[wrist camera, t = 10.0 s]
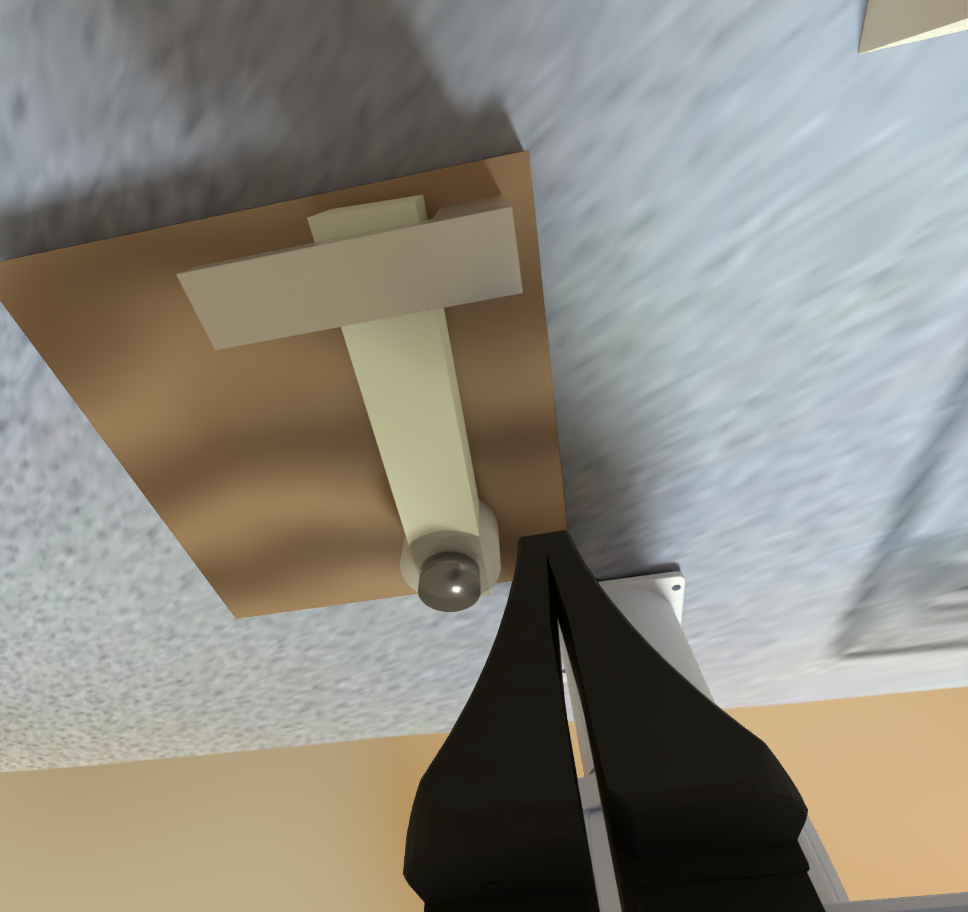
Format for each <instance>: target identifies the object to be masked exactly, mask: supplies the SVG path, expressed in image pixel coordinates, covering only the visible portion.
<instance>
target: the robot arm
mask: <svg viewBox="0 0 968 912" xmlns="http://www.w3.org/2000/svg"><path fill="white" fill-rule="evenodd" d="M684 588H685V577H684V575H683V574H682V573H681V572H678V571H674V572H667V573H659V574H652V575H644V576H637V577H630V578H622V579H615V580H607V581H600V582H598V581H597V580H596V578H595V577H594V576H593V574H592V573H591V571H590V570H589V568H588V567H587V565H586V563H585V562H584V560H583V559H582V557H581V555H580V554H579V552H578V550H577V548H576V546H575V544H574V542H573V540H572V538H571V536H570V533H569V532H567V531H566V530H561V531H555V532H549V533H543V534H536V535H530V536H524V537H521V538H520V539H519V540H518V550H517V559H516V566H515V571H514V577H513V581H512V585H511V589H510V593H509V597H508V601H507V605H506V608H505V611H504V614H503V618H502V621H501V624H500V627H499V630H498V633H497V636H496V638H495V641H494V644H493V646H492V649H491V651H490V654H489V656H488V659H487V661H486V664H485V666H484V668H483V670H482V672H481V675H480V677H479V679H478V681H477V683H476V685H475V688H474V690H473V692H472V694H471V696H470V698H469V700H468V702H467V703H466V705H465V707H464V709H463V711H462V712H461V714H460V716H459V718H458V720H457V722H456V723H455V725H454V727H453V729H452V731H451V732H450V734H449V736H448V737H447V739H446V741H445V742H444V744H443V746H442V747H441V749H440V750H439V752H438V753H437V755H436V757H435V758H434V760H433V761H432V763H431V764H430V766H429V768H428V769H427V771H426V772H425V774H424V775H423V777H422V779H421V780H420V783H419V786H418V789H417V792H416V796H415V799H414V803H413V807H412V811H411V815H410V821H409V826H408V830H407V837H406V847H405V857H404V869H403V875H404V877H405V879H406V881H407V882H408V884H409V885H410V886H411V888H412V889H413V890H414V891H415V892H416V893H417V894H418V896H419V897H420V898H421V899H422V900H423V901H424V902H425V905H424V912H968V892H963V893H950V894H938V895H926V896H914V897H901V898H888V899H876V900H864V901H852V902H850V901H849V898H848V896H847V894H846V892H845V889H844V887H843V885H842V883H841V881H840V879H839V877H838V874H837V872H836V870H835V868H834V866H833V864H832V862H831V860H830V858H829V856H828V854H827V852H826V850H825V847H824V846H823V843H822V842H821V840H820V838H819V836H818V834H817V832H816V830H815V828H814V826H813V824H812V822H811V821H810V819H809V817H808V815H807V813H808V809H807V807H806V805H805V803H804V801H803V799H802V797H801V795H800V793H799V792H798V789H797V788H796V786H795V785H794V783H793V781H792V780H791V778H790V777H789V775H788V774H787V772H786V771H785V769H784V768H783V767H782V765H781V764H780V762H779V761H778V759H777V758H776V757H775V755H774V754H773V753H772V752H771V750H770V749H769V747H768V746H767V745H766V744H765V743H764V742H763V741H762V740H761V739H759V738H758V737H757V736H755V735H754V734H753V733H751V732H750V731H749V730H747V729H746V728H745V727H743V726H742V725H741V724H739V723H738V722H737V721H736V720H734V719H733V718H732V717H731V716H729V715H728V714H727V713H726V712H724V711H723V710H722V709H721V708H719V707H718V706H717V705H716V704H715V702H714V700H713V697H712V695H711V693H710V691H709V688H708V686H707V684H706V682H705V679H704V677H703V675H702V673H701V670H700V668H699V666H698V664H697V661H696V659H695V657H694V655H693V652H692V650H691V648H690V646H689V644H688V641H687V639H686V637H685V635H684V632H683V630H682V628H681V620H682V609H683V599H684ZM563 683H568V688H569V694H570V699H571V705H572V710H573V716H574V721H575V726H576V732H577V737H578V743H579V748H580V754H581V760H582V765H583V771H584V776H585V777H582V778H578V779H577V773H576V767H575V762H574V756H573V750H572V744H571V738H570V732H569V726H568V720H567V713H566V705H565V697H564V685H563Z"/></svg>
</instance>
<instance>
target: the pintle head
mask: <svg viewBox="0 0 968 912" xmlns="http://www.w3.org/2000/svg"><path fill="white" fill-rule="evenodd" d="M480 593H481V580H480V568H479V566H478V564H477V562H476V561H475V560H474V559H472V558H471V557H470V556H468V555H466V554H463V553H460V552H453V551H447V552H440V553H437V554H434V555H432V556H430V557H429V558H427V559H426V560H425V561H424V562H423V564H422V566H421V569H420V576H419V584H418V595H419V597H420V599H421V600H422V601H423V603H425V604H426V605H427V606H429V607H431V608H433V609H435V610H439V611H444V612H456V611H461V610H464V609H467V608H469V607H471V606H472V605H473V604H475V603H476V602H477V600H478V599H479V597H480Z"/></svg>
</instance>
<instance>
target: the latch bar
mask: <svg viewBox="0 0 968 912" xmlns="http://www.w3.org/2000/svg"><path fill="white" fill-rule="evenodd" d="M307 219H308V222H309V226H310V229H311V232H312V235H313V238H314V242H320V241H325V240H330V239H335V238H340V237H345V236H350V235H355V234H359V233H364V232H369V231H374V230H379V229H384V228H389V227H394V226H399V225H404V224H409V223H414V222H419V221H424V220H428V218H427V213H426V207H425V202H424V196H423V195H417V196H411V197H405V198H398V199H392V200H386V201H380V202H373V203H367V204H361V205H354V206H348V207H342V208H336V209H330V210H327V211H325V212H322V213H319V214H316V215H314V216H311V217H308V218H307ZM341 329H342V332H343V335H344V338H345V342H346V345H347V348H348V351H349V354H350V358H351V361H352V364H353V367H354V371H355V374H356V377H357V380H358V383H359V387H360V390H361V393H362V396H363V400H364V403H365V406H366V409H367V412H368V416H369V419H370V422H371V425H372V429H373V432H374V435H375V438H376V441H377V445H378V448H379V451H380V454H381V457H382V461H383V464H384V467H385V470H386V474H387V477H388V480H389V483H390V486H391V490H392V493H393V496H394V499H395V503H396V506H397V509H398V512H399V515H400V519H401V522H402V525H403V528H404V532H405V538H404V543H403V549H402V555H401V560H400V570H401V574H402V576H403V578H404V580H405V581H406V583H407V584H408V585H409V586H410V587H411V588H412V589H413V590H415V591H416V592H418V584H419V576H420V569H421V566H422V564H423V562H424V561H425V560H426V559H427V558H429V557H430V556H432V555H434V554H437V553H440V552H447V551H453V552H460V553H463V554H466V555H468V556H470V557H471V558H472V559H474V560H475V561H476V562H477V564H478V566H479V568H480V580H481V593H480V596H481V595H490V588H491V587H492V586H493V585H494V583H495V582H496V581H497V579H498V577H499V574H500V569H501V563H500V548H499V534H498V523H497V519H496V517H495V515H494V513H493V511H492V510H491V509H490V508H489V507H488V506H487V505H486V504H485V503H483V502H482V501H480V500H479V499H478V493H477V488H476V482H475V477H474V471H473V466H472V460H471V455H470V449H469V444H468V438H467V433H466V427H465V422H464V416H463V411H462V405H461V400H460V394H459V389H458V383H457V378H456V372H455V367H454V361H453V356H452V350H451V345H450V339H449V334H448V328H447V323H446V317H445V312H444V308H439V309H434V310H428V311H423V312H418V313H412V314H407V315H402V316H396V317H391V318H385V319H380V320H375V321H369V322H364V323H359V324H353V325H348V326H343V327H341Z"/></svg>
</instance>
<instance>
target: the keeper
mask: <svg viewBox="0 0 968 912" xmlns="http://www.w3.org/2000/svg"><path fill="white" fill-rule="evenodd" d="M176 275H177V277H178V279H179V281H180V283H181V285H182V287H183V289H184V291H185V293H186V295H187V297H188V298H189V300H190V302H191V304H192V306H193V308H194V310H195V312H196V314H197V316H198V318H199V320H200V322H201V324H202V325H203V327H204V329H205V331H206V333H207V335H208V337H209V339H210V341H211V343H212V345H213V347H214V349H215V350H219V349H224V348H230V347H235V346H241V345H246V344H251V343H257V342H262V341H267V340H273V339H278V338H283V337H289V336H294V335H300V334H305V333H310V332H316V331H321V330H326V329H332V328H337V327H343V326H348V325H353V324H359V323H364V322H369V321H375V320H380V319H385V318H391V317H396V316H402V315H407V314H412V313H418V312H423V311H428V310H434V309H439V308H445V307H450V306H455V305H461V304H466V303H471V302H477V301H482V300H487V299H493V298H498V297H504V296H509V295H514V294H520V293H523V290H522V282H521V274H520V266H519V258H518V250H517V242H516V234H515V226H514V218H513V210H512V206H511V205H510V204H509V202H508V201H507V200H506V199H505V197H504V196H503V195H502V194H498V195H493V196H488V197H483V198H478V199H473V200H468V201H463V202H458V203H454V204H449V205H444V206H441V207H440V208H439V210H438V211H437V213H436V214H435V216H434V217H433V219H429V220H424V221H419V222H414V223H409V224H404V225H399V226H394V227H389V228H384V229H379V230H374V231H369V232H364V233H359V234H355V235H350V236H345V237H340V238H335V239H330V240H325V241H320V242H315V243H310V244H305V245H300V246H295V247H290V248H285V249H280V250H275V251H270V252H265V253H261V254H256V255H251V256H246V257H241V258H236V259H231V260H226V261H221V262H216V263H211V264H206V265H201V266H196V267H194V268H191V269H189V270H186V271H183V272H181V273H178V274H176Z"/></svg>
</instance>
